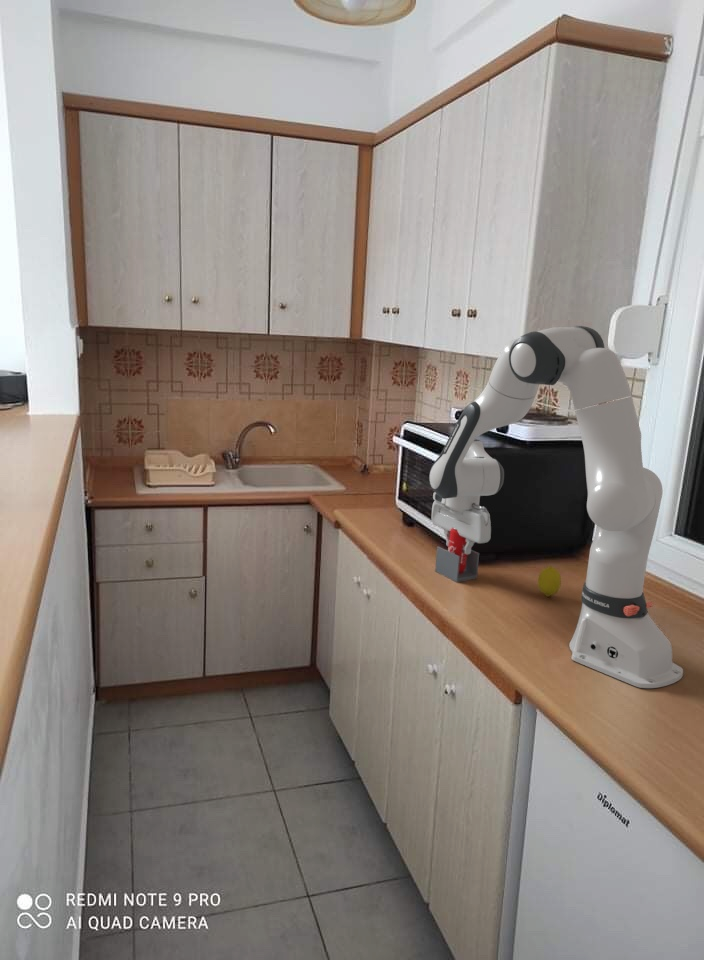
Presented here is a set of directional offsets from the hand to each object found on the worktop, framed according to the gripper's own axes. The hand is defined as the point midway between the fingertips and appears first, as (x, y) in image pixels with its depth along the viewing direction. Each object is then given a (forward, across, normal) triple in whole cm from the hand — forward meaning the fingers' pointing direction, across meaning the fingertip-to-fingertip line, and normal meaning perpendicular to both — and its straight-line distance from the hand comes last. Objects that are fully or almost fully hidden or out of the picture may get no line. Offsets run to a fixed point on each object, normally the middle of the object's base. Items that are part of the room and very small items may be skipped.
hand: (458, 549), depth 190 cm
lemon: (+7, -22, -12) cm, 26 cm away
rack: (+7, 0, 0) cm, 7 cm away
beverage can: (+6, 0, 0) cm, 6 cm away
